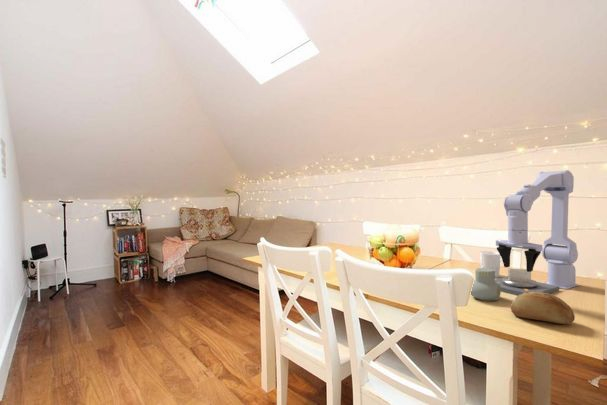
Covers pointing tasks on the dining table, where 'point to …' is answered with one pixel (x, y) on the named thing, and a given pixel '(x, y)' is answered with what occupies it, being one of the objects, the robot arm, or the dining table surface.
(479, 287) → the air freshener
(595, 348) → the dining table surface
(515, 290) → the dial base
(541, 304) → the bread roll
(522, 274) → the dial
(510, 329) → the dining table surface
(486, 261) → the white cup
